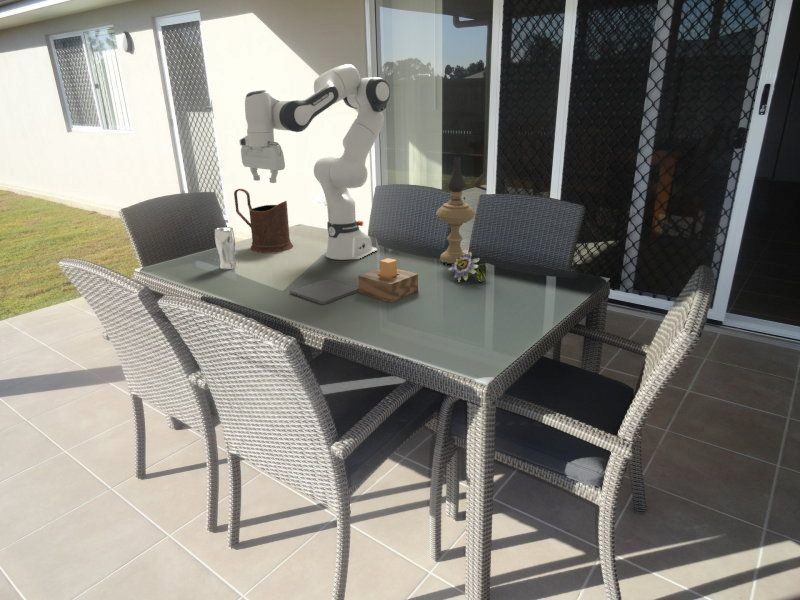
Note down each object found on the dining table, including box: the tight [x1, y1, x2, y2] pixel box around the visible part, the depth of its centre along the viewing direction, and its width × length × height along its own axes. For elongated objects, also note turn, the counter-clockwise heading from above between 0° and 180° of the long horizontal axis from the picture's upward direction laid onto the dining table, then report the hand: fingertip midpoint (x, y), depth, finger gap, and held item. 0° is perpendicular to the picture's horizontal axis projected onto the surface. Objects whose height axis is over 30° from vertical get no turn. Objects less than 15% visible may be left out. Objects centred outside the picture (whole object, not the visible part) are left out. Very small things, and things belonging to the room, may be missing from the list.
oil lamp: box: [435, 156, 476, 263], centre depth 205 cm, size 15×15×40 cm
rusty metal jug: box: [233, 188, 294, 254], centre depth 229 cm, size 18×24×25 cm
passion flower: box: [447, 251, 488, 282], centre depth 189 cm, size 11×11×12 cm
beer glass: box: [214, 226, 237, 271], centre depth 203 cm, size 7×7×15 cm
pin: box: [379, 257, 398, 278], centre depth 176 cm, size 4×4×10 cm
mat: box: [289, 278, 359, 306], centre depth 178 cm, size 16×16×1 cm
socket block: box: [357, 268, 419, 303], centre depth 177 cm, size 14×14×6 cm
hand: (264, 181), depth 189 cm, fingers open, 8 cm apart
